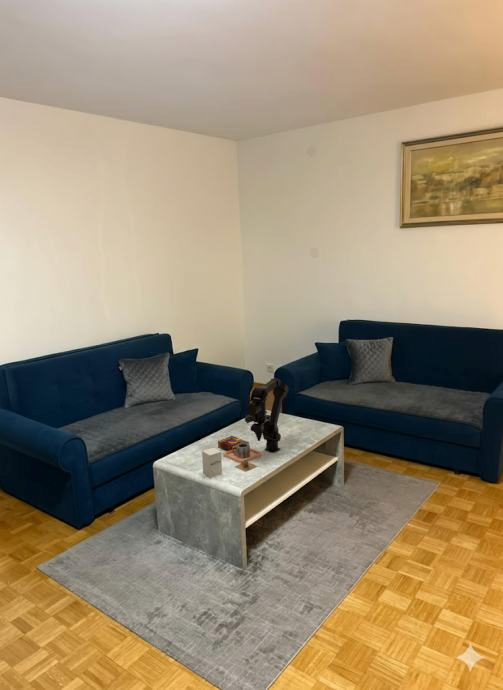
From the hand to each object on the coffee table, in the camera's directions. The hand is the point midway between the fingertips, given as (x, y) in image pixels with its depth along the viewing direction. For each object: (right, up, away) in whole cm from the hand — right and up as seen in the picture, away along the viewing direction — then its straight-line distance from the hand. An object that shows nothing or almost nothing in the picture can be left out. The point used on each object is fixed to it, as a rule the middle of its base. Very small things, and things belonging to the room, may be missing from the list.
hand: (261, 437), depth 271 cm
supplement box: (-25, -16, -15) cm, 33 cm away
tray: (-10, -12, +5) cm, 16 cm away
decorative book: (-16, -10, +18) cm, 26 cm away
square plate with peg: (-8, -14, -8) cm, 18 cm away
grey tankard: (-10, -11, +5) cm, 16 cm away
